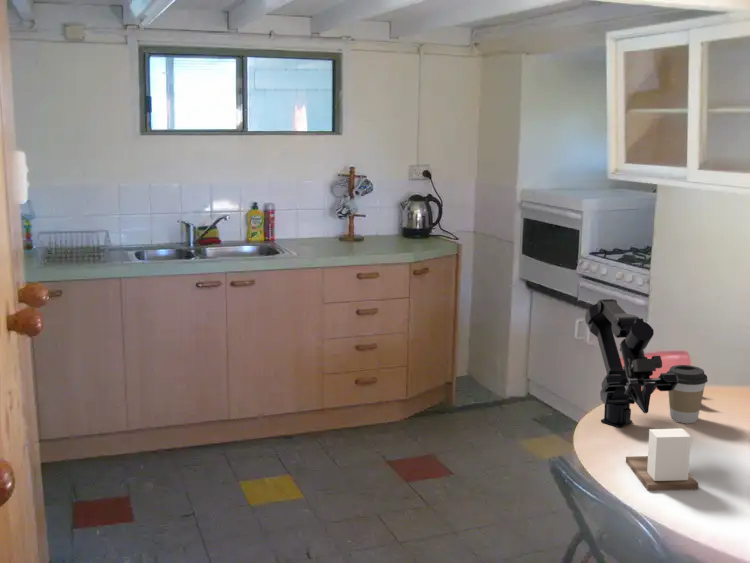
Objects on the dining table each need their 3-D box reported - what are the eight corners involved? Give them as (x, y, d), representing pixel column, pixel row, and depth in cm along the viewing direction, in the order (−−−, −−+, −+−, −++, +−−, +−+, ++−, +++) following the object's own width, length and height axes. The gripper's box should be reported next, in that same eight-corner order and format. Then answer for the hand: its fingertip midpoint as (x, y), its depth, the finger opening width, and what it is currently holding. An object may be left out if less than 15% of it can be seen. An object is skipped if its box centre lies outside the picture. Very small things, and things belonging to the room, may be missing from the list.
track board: (625, 462, 207) (626, 456, 207) (672, 460, 207) (672, 455, 207) (647, 490, 191) (647, 484, 191) (697, 489, 192) (698, 483, 191)
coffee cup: (701, 413, 239) (704, 364, 236) (708, 427, 228) (711, 376, 225) (660, 411, 242) (663, 362, 238) (665, 425, 231) (668, 375, 228)
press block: (646, 470, 198) (648, 428, 195) (678, 470, 198) (681, 427, 196) (654, 481, 192) (656, 437, 190) (687, 480, 192) (690, 436, 190)
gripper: (606, 345, 210) (617, 400, 202) (678, 343, 210) (692, 398, 202) (596, 364, 219) (607, 418, 211) (665, 363, 220) (678, 416, 211)
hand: (646, 412), depth 209 cm, fingers closed
